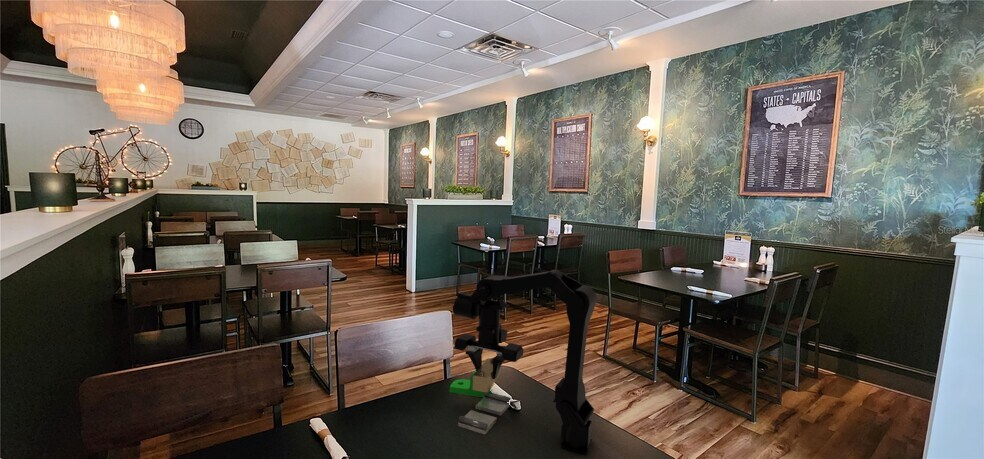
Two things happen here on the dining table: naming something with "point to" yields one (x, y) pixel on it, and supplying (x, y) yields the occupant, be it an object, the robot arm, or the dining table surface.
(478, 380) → the bar
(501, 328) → the robot arm
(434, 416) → the dining table surface
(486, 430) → the chain end
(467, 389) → the mechanical part
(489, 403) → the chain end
